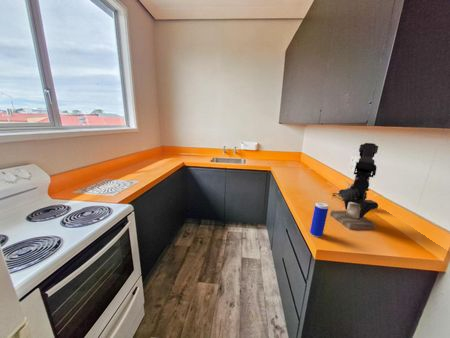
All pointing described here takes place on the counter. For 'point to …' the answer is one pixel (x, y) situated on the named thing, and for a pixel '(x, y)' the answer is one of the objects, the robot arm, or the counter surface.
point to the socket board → (352, 221)
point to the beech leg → (353, 210)
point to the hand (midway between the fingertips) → (353, 213)
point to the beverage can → (319, 219)
